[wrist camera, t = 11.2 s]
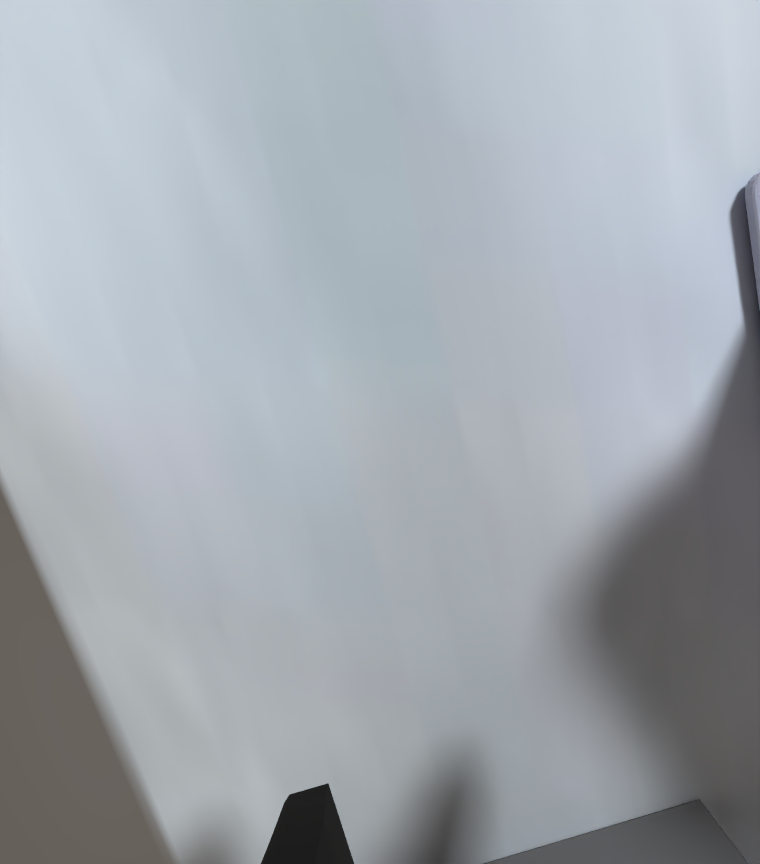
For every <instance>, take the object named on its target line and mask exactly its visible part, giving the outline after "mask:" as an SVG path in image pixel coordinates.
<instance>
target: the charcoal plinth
mask: <svg viewBox="0 0 760 864" xmlns="http://www.w3.org/2000/svg"><path fill="white" fill-rule="evenodd" d="M486 864H748V863H747V861H746V860H745V859H744V857H743V856H742V855H741V853H740V852H739V851H738V850H737V848H736V847H735V846H734V844H733V843H732V842H731V840H730V839H729V838H728V836H727V835H726V834H725V832H724V831H723V830H722V828H721V827H720V826H719V825H718V823H717V822H716V821H715V819H714V818H713V817H712V815H711V814H710V813H709V811H708V810H707V809H706V807H705V806H704V805H703V803H702V802H701V801H700V800H697V801H694V802H690V803H687V804H683V805H680V806H677V807H673V808H670V809H667V810H663V811H660V812H657V813H653V814H650V815H647V816H643V817H640V818H637V819H633V820H630V821H627V822H623V823H620V824H616V825H613V826H610V827H606V828H603V829H600V830H596V831H593V832H590V833H586V834H583V835H580V836H576V837H573V838H570V839H566V840H563V841H560V842H556V843H553V844H549V845H546V846H543V847H539V848H536V849H533V850H529V851H526V852H523V853H519V854H516V855H513V856H509V857H506V858H503V859H499V860H496V861H492V862H489V863H486Z"/></svg>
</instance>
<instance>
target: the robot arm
mask: <svg viewBox="0 0 760 864" xmlns="http://www.w3.org/2000/svg"><path fill="white" fill-rule="evenodd" d="M745 201H746V209H747V217H748V224H749V232H750V240H751V248H752V255H753V263H754V271H755V278H756V286H757V294H758V302H759V309H760V173H758V174H756V175H754V176H753V177H752V178H751V179H750V180H749V181H748V183H747V186H746V188H745ZM261 864H354V862H353V859H352V856H351V853H350V850H349V847H348V843H347V840H346V837H345V834H344V831H343V828H342V825H341V822H340V819H339V815H338V812H337V809H336V806H335V803H334V800H333V797H332V794H331V790H330V787H329V784H325V785H321V786H318V787H314V788H311V789H307V790H304V791H301V792H297V793H294V794H290V795H289V796H288V798H287V800H286V801H285V803H284V805H283V808H282V811H281V813H280V816H279V819H278V821H277V824H276V827H275V829H274V832H273V835H272V837H271V840H270V842H269V845H268V848H267V850H266V853H265V855H264V858H263V860H262V862H261Z"/></svg>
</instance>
